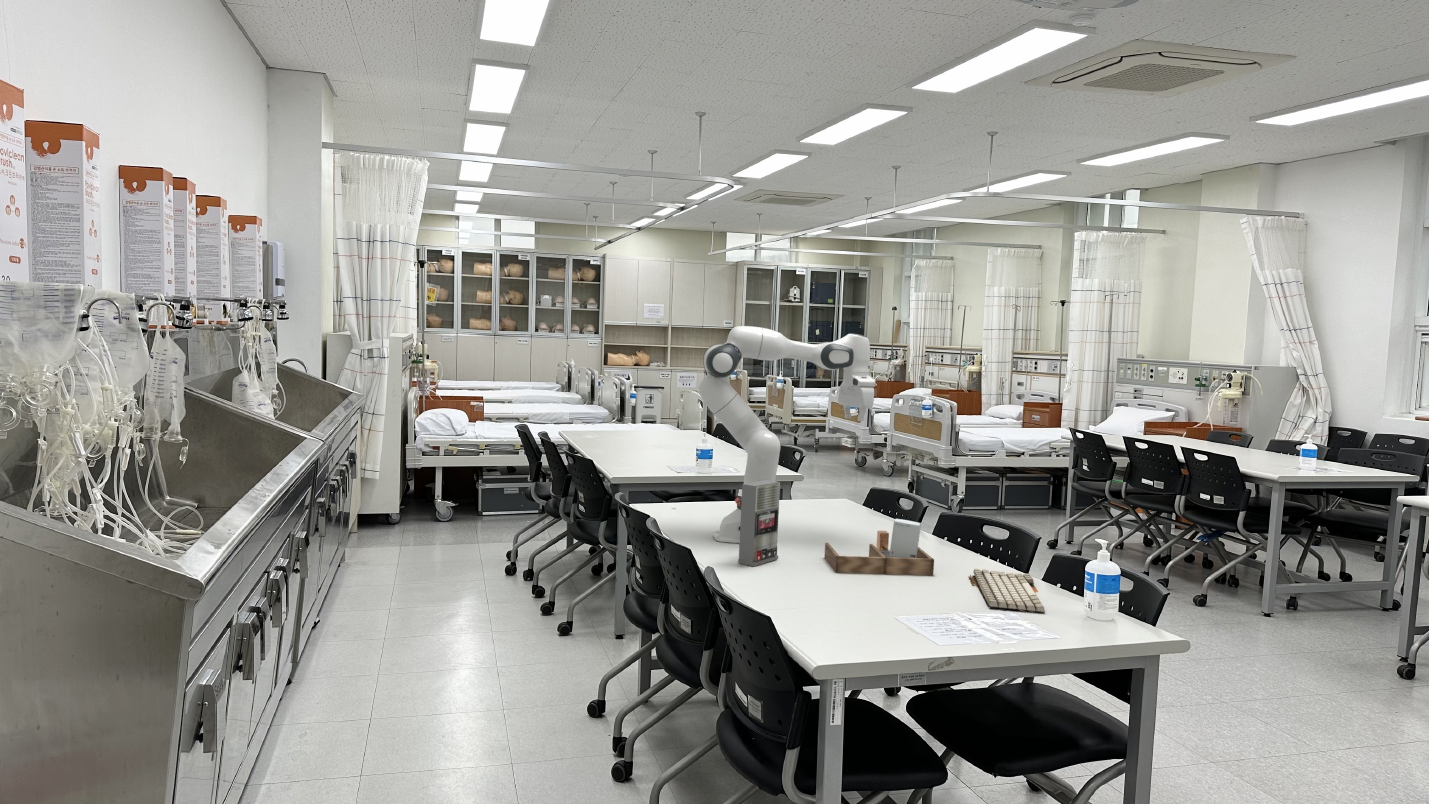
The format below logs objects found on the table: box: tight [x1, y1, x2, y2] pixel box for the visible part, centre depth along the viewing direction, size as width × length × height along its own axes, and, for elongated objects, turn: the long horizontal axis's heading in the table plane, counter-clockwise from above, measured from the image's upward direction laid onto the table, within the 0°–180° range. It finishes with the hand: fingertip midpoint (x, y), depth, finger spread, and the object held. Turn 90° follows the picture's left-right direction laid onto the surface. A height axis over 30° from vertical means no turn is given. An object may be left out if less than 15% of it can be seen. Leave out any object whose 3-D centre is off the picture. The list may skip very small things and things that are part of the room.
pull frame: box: [875, 530, 890, 557], centre depth 291 cm, size 12×33×6 cm, turn 3°
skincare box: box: [889, 518, 922, 558], centre depth 281 cm, size 8×6×15 cm
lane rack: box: [823, 542, 935, 576], centre depth 283 cm, size 30×19×5 cm, turn 93°
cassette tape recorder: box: [737, 480, 781, 568], centre depth 281 cm, size 14×6×25 cm, turn 143°
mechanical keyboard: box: [967, 568, 1046, 614], centre depth 257 cm, size 38×19×3 cm, turn 171°
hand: (854, 419), depth 314 cm, fingers open, 8 cm apart
